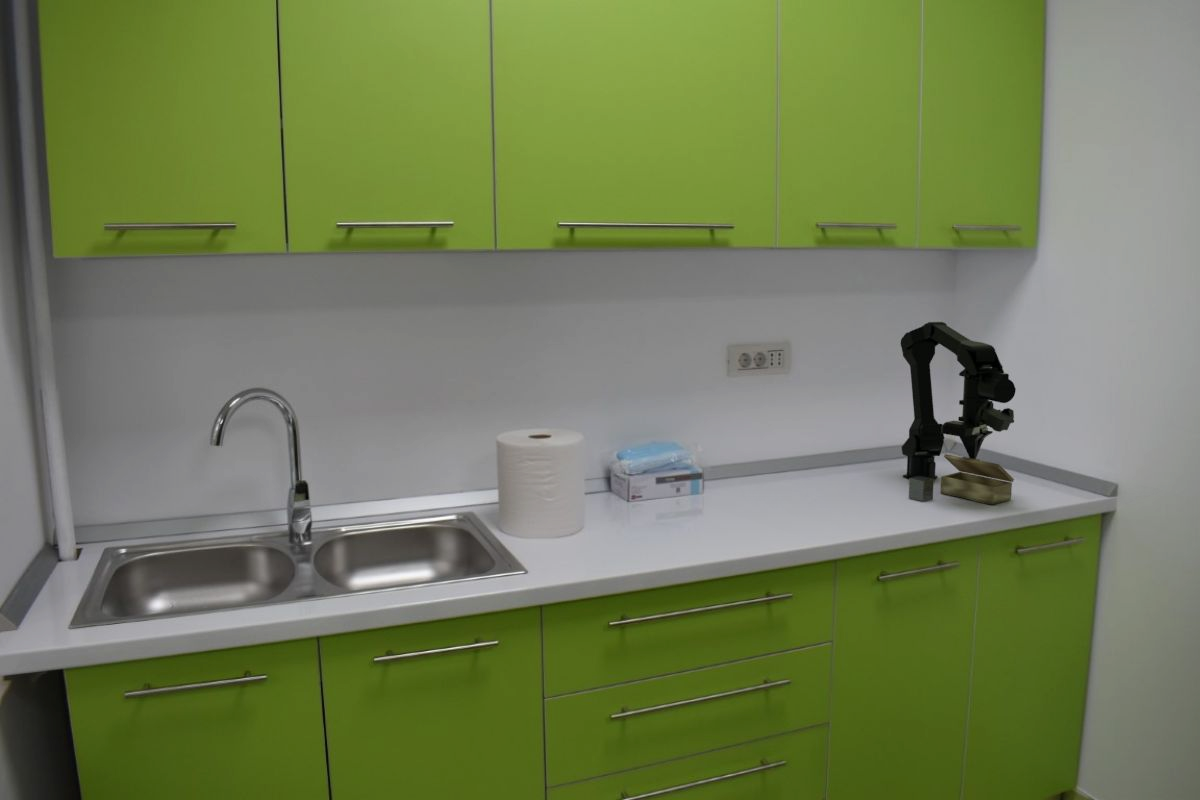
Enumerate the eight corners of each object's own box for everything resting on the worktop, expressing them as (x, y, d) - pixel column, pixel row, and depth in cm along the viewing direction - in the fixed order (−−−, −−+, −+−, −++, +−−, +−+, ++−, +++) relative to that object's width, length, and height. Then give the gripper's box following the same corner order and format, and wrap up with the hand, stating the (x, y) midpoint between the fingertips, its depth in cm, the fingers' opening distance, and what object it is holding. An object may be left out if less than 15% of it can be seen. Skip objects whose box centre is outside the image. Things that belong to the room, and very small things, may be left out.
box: (940, 492, 219) (941, 476, 219) (959, 487, 224) (959, 471, 223) (992, 504, 208) (993, 487, 207) (1010, 499, 212) (1011, 482, 212)
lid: (943, 456, 218) (944, 453, 219) (959, 471, 223) (961, 468, 224) (997, 466, 207) (998, 463, 207) (1013, 482, 212) (1014, 479, 212)
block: (908, 497, 215) (909, 478, 214) (918, 495, 218) (919, 475, 217) (922, 501, 212) (923, 481, 211) (932, 498, 214) (933, 478, 213)
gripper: (984, 405, 199) (981, 471, 202) (1029, 396, 210) (1025, 459, 212) (941, 399, 208) (938, 462, 211) (986, 391, 219) (983, 451, 221)
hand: (972, 459), depth 213 cm, fingers closed
